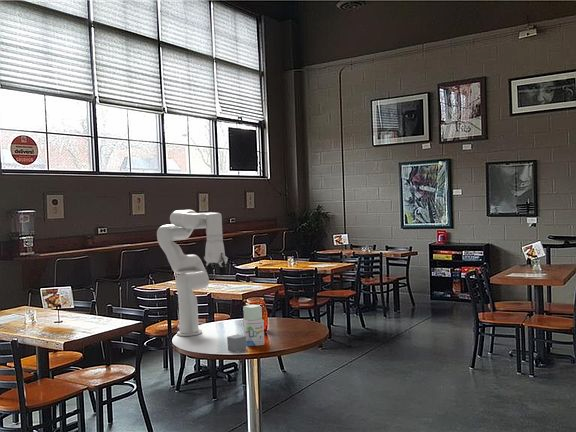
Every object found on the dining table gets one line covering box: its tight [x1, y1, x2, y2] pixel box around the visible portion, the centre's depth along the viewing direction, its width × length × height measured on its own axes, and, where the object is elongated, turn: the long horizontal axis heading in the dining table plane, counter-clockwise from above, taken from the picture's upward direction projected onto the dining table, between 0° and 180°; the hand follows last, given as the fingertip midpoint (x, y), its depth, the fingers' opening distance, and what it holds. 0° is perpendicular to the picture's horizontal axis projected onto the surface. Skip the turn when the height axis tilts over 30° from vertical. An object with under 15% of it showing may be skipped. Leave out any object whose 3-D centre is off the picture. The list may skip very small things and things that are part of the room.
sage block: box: [243, 304, 262, 321], centre depth 268 cm, size 6×6×6 cm
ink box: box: [243, 318, 265, 347], centre depth 268 cm, size 9×8×12 cm
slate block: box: [226, 333, 248, 353], centre depth 258 cm, size 6×6×6 cm
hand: (216, 274), depth 273 cm, fingers open, 9 cm apart
